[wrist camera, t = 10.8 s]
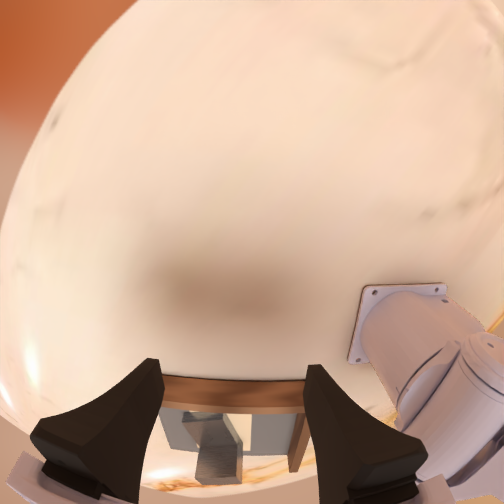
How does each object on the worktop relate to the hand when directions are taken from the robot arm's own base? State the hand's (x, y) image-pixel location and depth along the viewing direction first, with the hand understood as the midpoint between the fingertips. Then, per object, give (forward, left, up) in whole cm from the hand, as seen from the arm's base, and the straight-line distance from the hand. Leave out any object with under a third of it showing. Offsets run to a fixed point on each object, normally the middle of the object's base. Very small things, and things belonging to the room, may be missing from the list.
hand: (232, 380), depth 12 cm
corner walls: (+1, +16, -9) cm, 19 cm away
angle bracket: (+3, +17, -9) cm, 19 cm away
